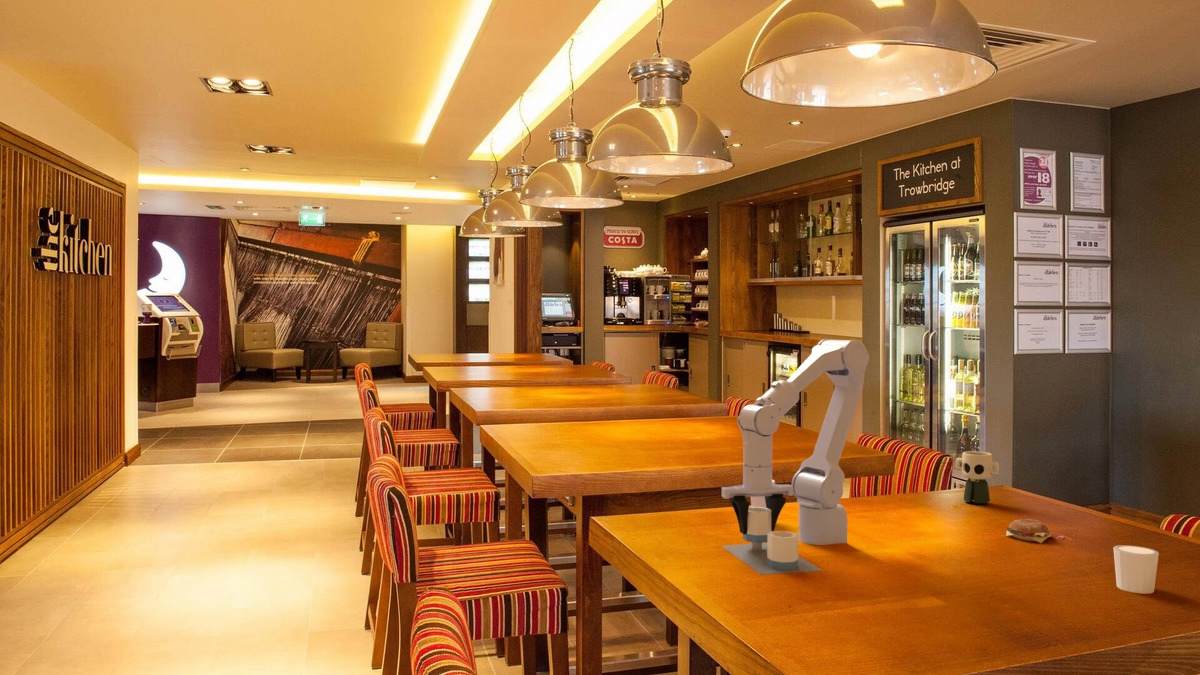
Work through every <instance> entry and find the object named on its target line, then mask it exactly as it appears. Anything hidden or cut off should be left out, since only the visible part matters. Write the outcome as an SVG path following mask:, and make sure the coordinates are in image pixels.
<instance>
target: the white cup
mask: <svg viewBox="0 0 1200 675" xmlns="http://www.w3.org/2000/svg"><path fill="white" fill-rule="evenodd" d="M1112 549H1113V558H1114V570H1115V571H1114V572H1115V580H1116V581H1115V582H1116V587H1117V588H1118V589H1119V590H1122V591H1125V592H1129V593H1134V594H1145V595H1146V594H1153V593H1154V592H1155V588H1156V587H1155V586H1156V585H1155V584H1156V578H1157V571H1158V570H1157V569H1158V564H1159V563H1158V562H1159V554H1160V553H1159V551H1157V550H1155V549H1153V548H1149V547H1144V546H1139V545H1129V544H1128V545H1127V544H1124V545H1122V544H1121V545H1119V544H1118V545H1114V547H1113V548H1112Z"/></svg>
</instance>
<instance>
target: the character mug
mask: <svg viewBox="0 0 1200 675" xmlns="http://www.w3.org/2000/svg"><path fill="white" fill-rule="evenodd" d="M961 455H962V456H961V457H957V458H955V470H957V471H960V472H961V474H962V476H963V477H965V478H967V480H966V481H965V486H964V491H963V492H964V493H963V501H965V502H967V503H974V504H982V505H983V504H987V503H989V502H990V501H991V498H990V497H991V496H990V488H989V483H988V481H987V480H989V479H991V478H992V476H998V475H999V474H1000V464H999V462H997V461H993V454H992V453H991V452H987V451H979V450H978V451H973V450H972V451H971V450H968V451H963V452H962V454H961ZM961 463H962V464H961ZM960 464H961V466H960ZM993 466H994V470H993Z"/></svg>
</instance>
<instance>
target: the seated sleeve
mask: <svg viewBox="0 0 1200 675" xmlns="http://www.w3.org/2000/svg"><path fill="white" fill-rule="evenodd" d="M766 543H767V566H769V567H770V568H772V569H776V570H782V571H785V570H795V569H796V568H797V567H798V556H799V534H797V533H796V532H793V531H785V530H774V531H771V532H770V533H768V534H767V542H766Z"/></svg>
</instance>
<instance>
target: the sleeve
mask: <svg viewBox="0 0 1200 675" xmlns="http://www.w3.org/2000/svg"><path fill="white" fill-rule="evenodd" d="M771 524H772V510H770V509H768V508H764V507H752V506H749V509H748V517H747V526H748V530H747V534H742V540H743V541H745V542H748V543H752V542H754V543H767V534H768V533H770V532H771Z"/></svg>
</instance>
